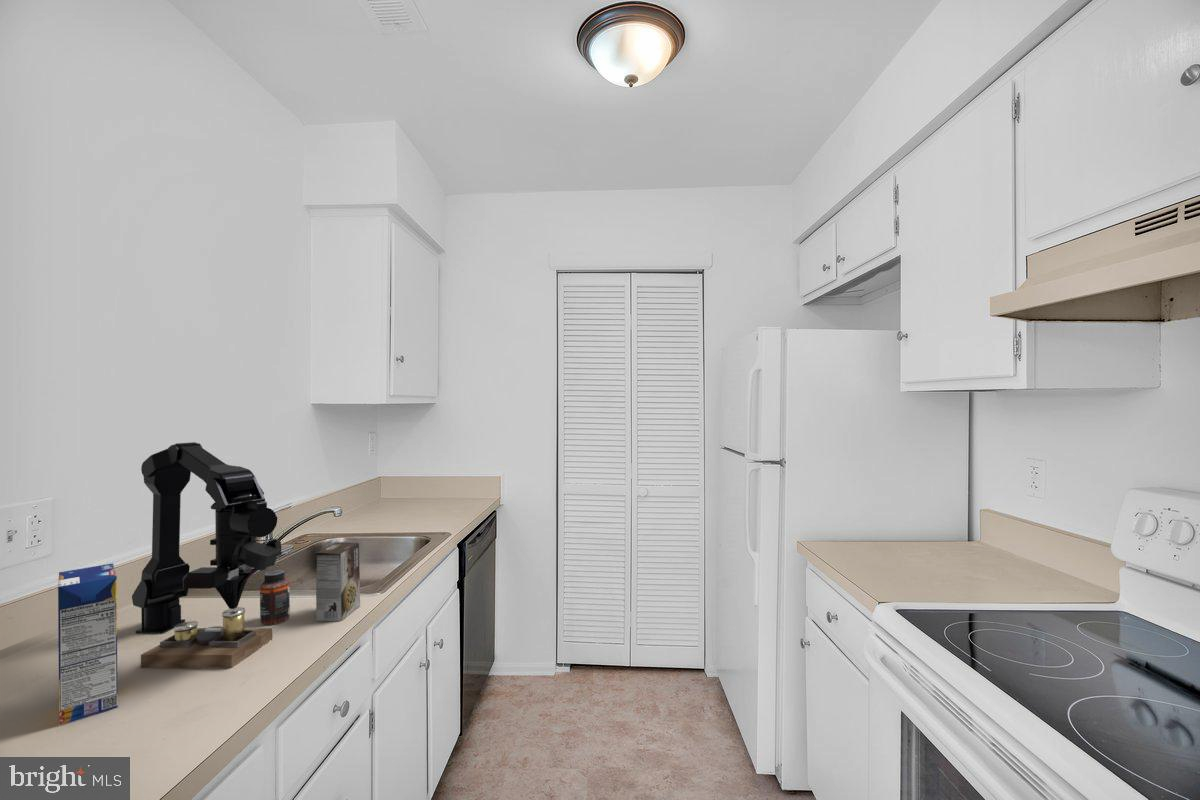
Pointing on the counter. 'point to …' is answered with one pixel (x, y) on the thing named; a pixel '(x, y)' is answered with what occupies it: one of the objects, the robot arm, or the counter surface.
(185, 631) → the knob left
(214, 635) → the dial
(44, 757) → the counter surface
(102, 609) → the beverage box
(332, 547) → the coffee box
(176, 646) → the mount
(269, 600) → the supplement bottle
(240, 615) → the knob right
